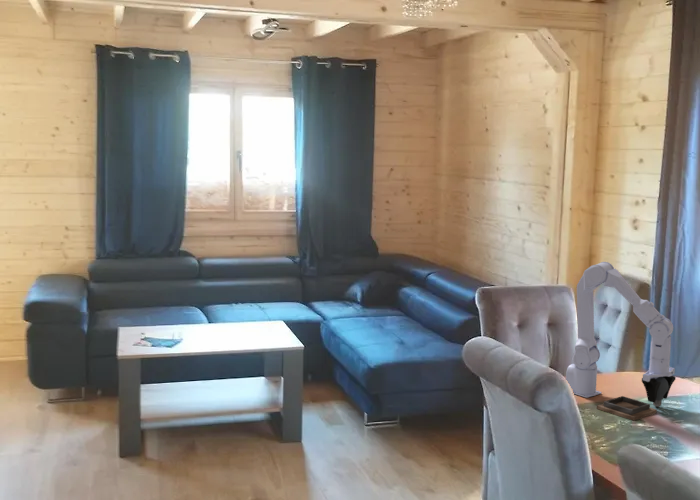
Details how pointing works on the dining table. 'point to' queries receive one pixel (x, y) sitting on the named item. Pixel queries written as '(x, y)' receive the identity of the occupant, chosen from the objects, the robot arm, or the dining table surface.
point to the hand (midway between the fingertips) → (657, 399)
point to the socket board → (627, 408)
